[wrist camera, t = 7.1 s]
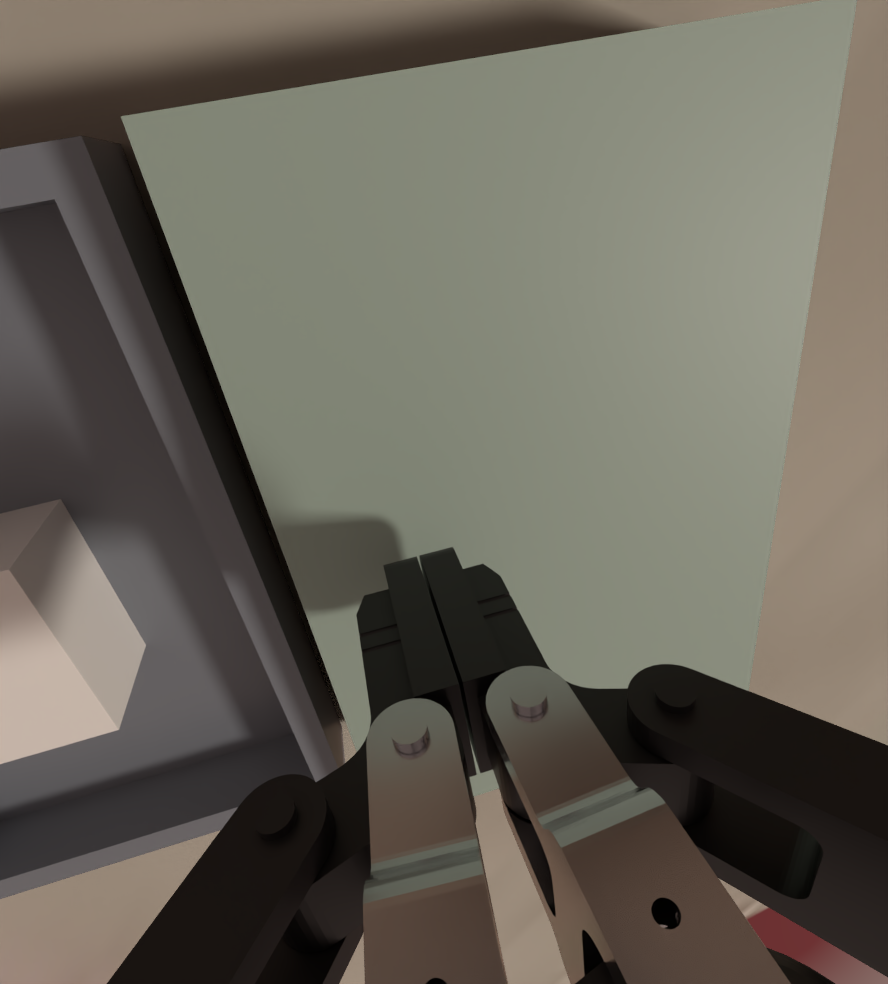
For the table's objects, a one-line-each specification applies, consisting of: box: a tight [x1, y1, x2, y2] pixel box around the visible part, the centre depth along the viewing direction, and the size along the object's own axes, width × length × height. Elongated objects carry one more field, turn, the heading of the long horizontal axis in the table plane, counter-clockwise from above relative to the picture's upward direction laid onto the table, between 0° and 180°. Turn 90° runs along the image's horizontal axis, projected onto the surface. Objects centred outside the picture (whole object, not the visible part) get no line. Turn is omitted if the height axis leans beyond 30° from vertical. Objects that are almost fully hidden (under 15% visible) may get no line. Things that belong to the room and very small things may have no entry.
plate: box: [121, 0, 857, 796], centre depth 15 cm, size 18×12×4 cm, turn 9°
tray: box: [0, 136, 345, 899], centre depth 14 cm, size 18×12×2 cm, turn 9°
